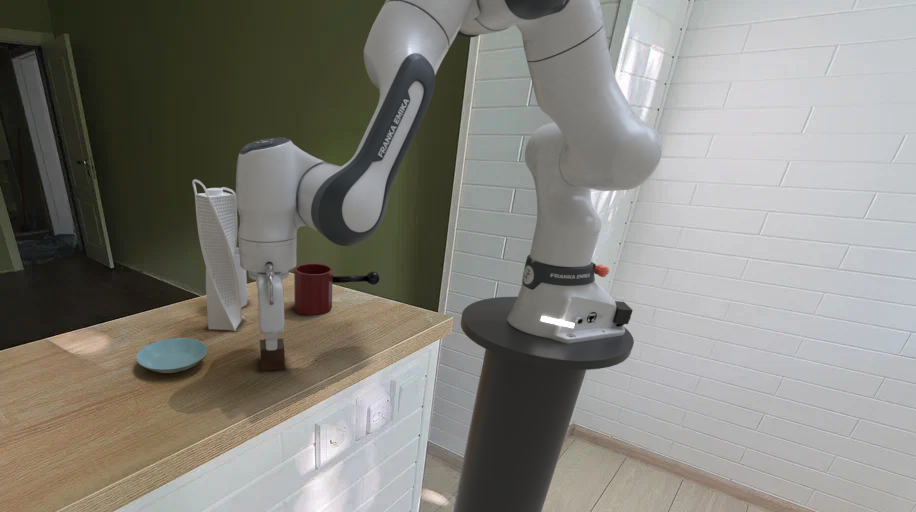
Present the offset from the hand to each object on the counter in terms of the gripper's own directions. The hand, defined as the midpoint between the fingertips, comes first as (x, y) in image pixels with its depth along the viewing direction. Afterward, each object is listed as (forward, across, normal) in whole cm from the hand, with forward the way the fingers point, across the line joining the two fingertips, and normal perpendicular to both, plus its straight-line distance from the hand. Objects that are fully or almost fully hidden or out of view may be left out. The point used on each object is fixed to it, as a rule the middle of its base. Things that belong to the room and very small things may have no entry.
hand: (270, 335), depth 80 cm
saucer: (+6, +2, +17) cm, 18 cm away
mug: (+6, +28, +8) cm, 30 cm away
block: (+6, 0, 0) cm, 6 cm away
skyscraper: (+6, +18, +9) cm, 21 cm away
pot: (+5, +25, -15) cm, 30 cm away
